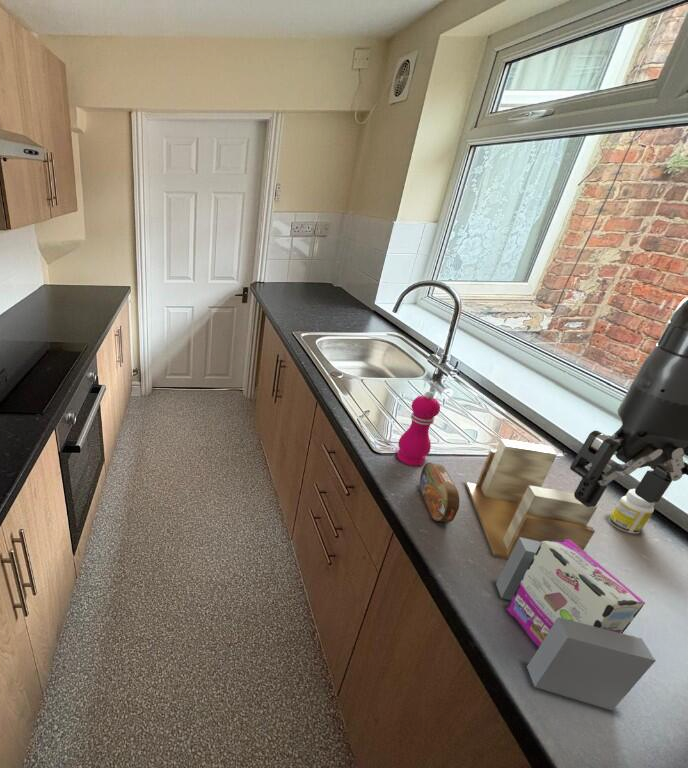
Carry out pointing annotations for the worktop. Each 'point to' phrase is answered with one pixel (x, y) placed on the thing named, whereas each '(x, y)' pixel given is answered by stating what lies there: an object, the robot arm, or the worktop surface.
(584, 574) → the candy bar box
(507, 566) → the grey blocks
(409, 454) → the pepper mill
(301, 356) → the worktop surface
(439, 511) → the tin
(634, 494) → the supplement bottle
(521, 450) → the book rack
